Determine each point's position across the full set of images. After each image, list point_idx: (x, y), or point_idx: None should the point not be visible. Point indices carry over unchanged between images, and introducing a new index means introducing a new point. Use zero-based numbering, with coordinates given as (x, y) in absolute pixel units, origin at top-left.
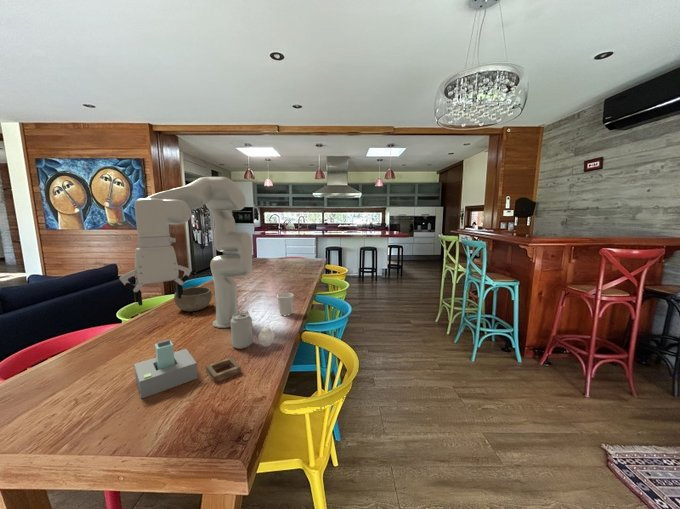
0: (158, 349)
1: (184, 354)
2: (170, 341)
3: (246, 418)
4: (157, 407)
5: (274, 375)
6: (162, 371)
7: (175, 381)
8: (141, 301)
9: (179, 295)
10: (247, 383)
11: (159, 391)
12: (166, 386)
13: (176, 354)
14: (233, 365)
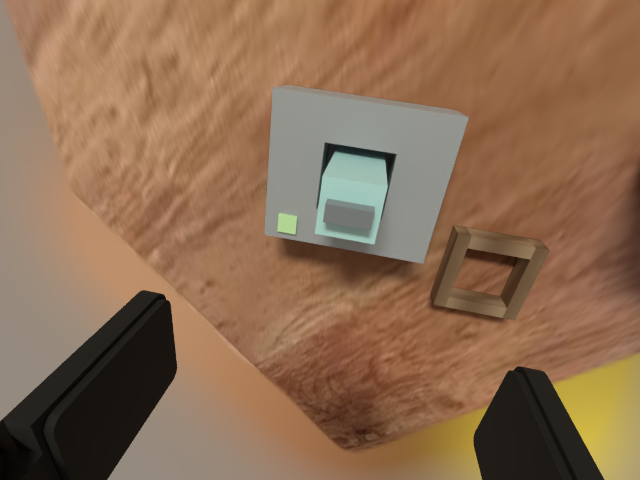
0: (319, 233)
1: (433, 167)
2: (381, 202)
3: (396, 416)
4: (297, 274)
5: None
6: None
7: None
8: (153, 399)
9: (487, 475)
10: (477, 352)
11: None
12: None
13: (413, 142)
14: (512, 291)
